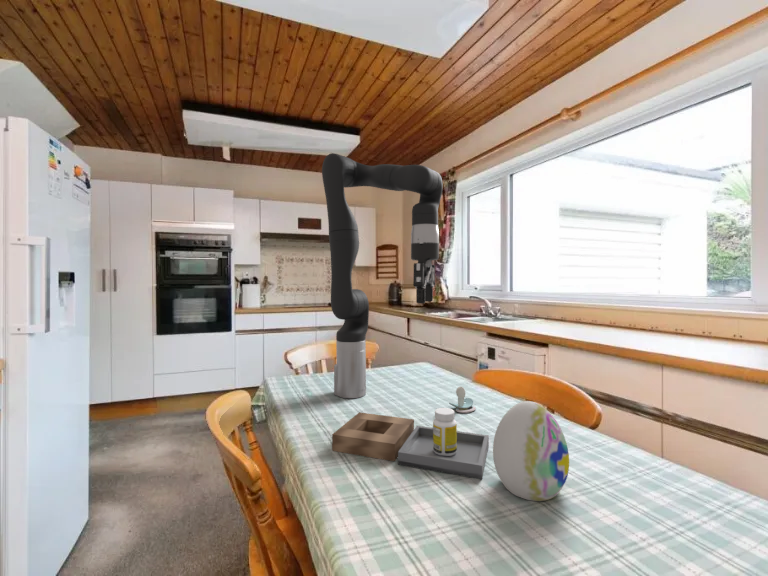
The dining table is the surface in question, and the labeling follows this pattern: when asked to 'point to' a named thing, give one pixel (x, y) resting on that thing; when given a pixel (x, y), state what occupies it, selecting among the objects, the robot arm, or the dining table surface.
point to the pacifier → (462, 406)
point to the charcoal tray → (462, 463)
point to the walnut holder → (373, 436)
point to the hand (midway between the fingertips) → (424, 302)
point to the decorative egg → (531, 452)
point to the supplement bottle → (444, 432)
